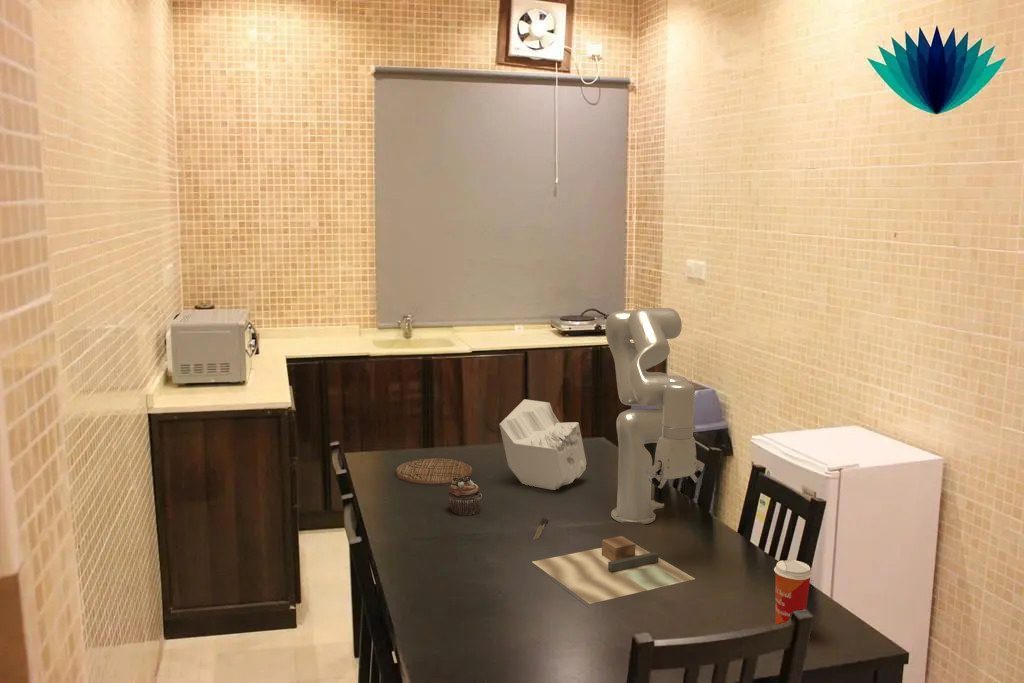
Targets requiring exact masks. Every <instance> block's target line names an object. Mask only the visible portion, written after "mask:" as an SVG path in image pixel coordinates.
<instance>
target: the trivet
mask: <svg viewBox="0 0 1024 683" xmlns="http://www.w3.org/2000/svg"><path fill="white" fill-rule="evenodd" d="M471 474H472V475H473V468H472V466H471V465H470V464H468V463H467V462H464V461H460V460H456V459H449V458H440V457H439V458H423V459H422V458H421V459H416V460H411V461H408V462H407V461H406V462H404V463H402V464H400V465H398V467H397V468H396V477H397V478H398V479H399V480H400V481H403V483H404V482H405V483H409V484H411V483H413V484H412V485H418V484H423V485H422V486H430V485H431V486H443V485H442V484H448V483H452V481H453V479H454V478H457V479H460V478H463V477H465V476H468V477H470V476H471V477H472V475H471ZM471 477H470V478H471ZM448 485H449V484H448Z"/></svg>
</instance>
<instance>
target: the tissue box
mask: <svg viewBox="0 0 1024 683" xmlns="http://www.w3.org/2000/svg"><path fill="white" fill-rule="evenodd" d="M498 425H499V429H500V435H501V438H502V443H503V448H504V451H505V452H504V453H505V458H506V462H507V467H508V468H509V469H510V470H511V472H512V474H514V476H515V477H516V478H517V479H518V481H519V482H520V483H521V484H522V485H523V484H525V485H524V486H528V485H529V486H530V487H533V486H534V487H533V488H541V489H546V490H549V491H556V490H558V491H559V489H560V488H561V487H563V486H566V485H569V484H572V483H573V482H574V480H575V479H579V478H580V477H581V476H582V474H583V473H584V472H585V471H586V469H587V467H586V466H587V464H588V463H587V458H586V454H585V453H586V452H585V448H584V444H583V438H582V434H581V428H580V423H579V422H576V421H574V422H560V420H559V419H558V418H557V416H556V414H555V413H554V411H553V408H552V405H551V402H547V401H540V400H532V399H526V398H524V399H523V400H522V401H521V402H520V403H519V404H518V405H517V406H516V407H514V409H513V410H511V412H510V413H509V414H508V415H507V416H506V417H504V419H503V420H502V421H501V422H499V424H498ZM529 486H528V487H529Z"/></svg>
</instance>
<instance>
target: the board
mask: <svg viewBox="0 0 1024 683" xmlns="http://www.w3.org/2000/svg"><path fill="white" fill-rule="evenodd" d="M648 553H651V551H648V550H647V549H644V548H643V547H641V546H639V545H637V544H636V547H635V556H639V555H643V554H648ZM608 562H610V560H609V559H607V558H606V557H604V556H603V555H602V547H599V548H593V549H588V550H583V551H579V552H574V553H568V554H564V555H559V556H554V557H549V558H542V559H538V560H534V561H532V563H533V564H534V565H535V566H537V567H538V568H539V569H541V570H542V571H544V572H545V573H546V574H548V575H549V576H550V577H552V578H553V579H554V580H552V582H553V583H555V580H556V581H557V582H559V583H560V584H561V585H563V587H565V589H564V588H563V590H564V591H565V590H566V588H567V589H568V590H570V591H571V592H572V593H573V594H575V595H576V596H577V597H579V598H580V599H582V600H583V601H584V602H585V603H587V604H588V605H590V604H595V603H600V602H604V601H609V600H612V599H617V598H620V597H621V598H622V597H625V596H629V595H633V594H634V595H635V594H638V593H642V592H647V591H652V590H655V589H660V588H663V587H664V588H665V587H668V586H672V585H676V584H681V583H685V582H690V581H693V580H696V578H695V577H694V576H691V575H689V574H688V573H686V572H684V571H682V570H681V569H679V568H677V567H676V566H674V565H672V564H670V563H669V562H667V561H665V560H664V559H661V558H660V557H659V559H658V562H655V563H651V564H646V565H641V566H637V567H632V568H628V569H623V570H619V571H614V572H611V571H609V570H608ZM538 568H536V570H537V571H539V572H540V573H541V574H543V575H544V576H547V575H546V574H544V573H543V572H542V571H540V570H538ZM567 593H568V594H569V595H571V596H572V597H573V598H575V599H576V600H578V599H577V598H576V597H575V596H574V595H572V594H571V593H570V592H568V591H567ZM579 603H582V601H581V600H579ZM585 603H583V605H585V606H586V607H587V608H589V609H590V607H589V606H588V605H586V604H585Z"/></svg>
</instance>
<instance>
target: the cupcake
mask: <svg viewBox="0 0 1024 683" xmlns="http://www.w3.org/2000/svg"><path fill="white" fill-rule="evenodd" d="M482 496H483V494H482V493H481V492H480V487H479V485H477V484H476V483H474V481H473V480H472V479H471V478H468V476H465V477H463V478H460V479H457V478H454V479H453V481H452V484H450V485H449V487H448V500H449V503H450V508H451V512H452V513H453V512H454V513H456V514H455V515H457V514H461V515H460V516H464V515H467V516H473V515H472V514H474V515H476V514H478V513H479V512H480V509H481V501H482ZM478 511H479V512H478ZM454 513H453V514H454ZM475 513H476V514H475Z"/></svg>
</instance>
